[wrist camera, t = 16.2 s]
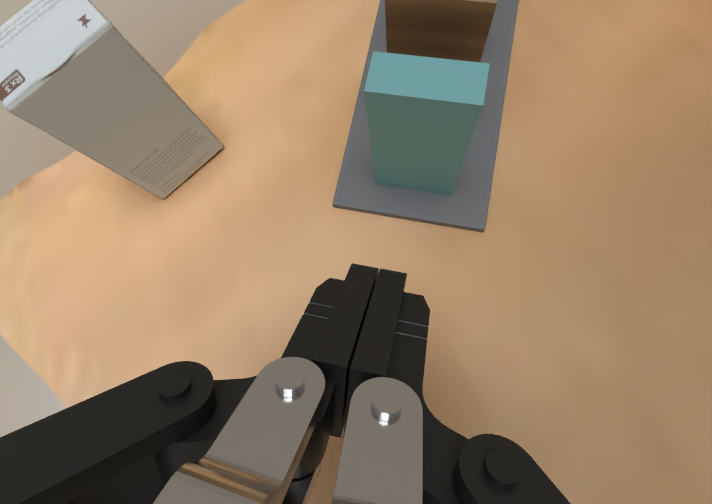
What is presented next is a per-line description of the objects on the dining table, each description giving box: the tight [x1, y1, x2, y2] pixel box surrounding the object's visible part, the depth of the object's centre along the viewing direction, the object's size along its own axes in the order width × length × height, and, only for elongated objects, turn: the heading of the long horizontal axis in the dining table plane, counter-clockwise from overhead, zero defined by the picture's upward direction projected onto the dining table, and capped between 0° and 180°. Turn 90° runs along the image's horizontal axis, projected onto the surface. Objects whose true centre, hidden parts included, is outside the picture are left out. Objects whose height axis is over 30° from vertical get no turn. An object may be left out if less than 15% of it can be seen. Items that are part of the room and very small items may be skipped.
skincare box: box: [0, 0, 223, 199], centre depth 23 cm, size 6×4×12 cm
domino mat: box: [333, 0, 519, 232], centre depth 29 cm, size 26×10×1 cm, turn 168°
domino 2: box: [364, 51, 490, 195], centre depth 22 cm, size 2×5×10 cm, turn 78°
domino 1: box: [385, 0, 498, 62], centre depth 23 cm, size 2×5×10 cm, turn 78°
